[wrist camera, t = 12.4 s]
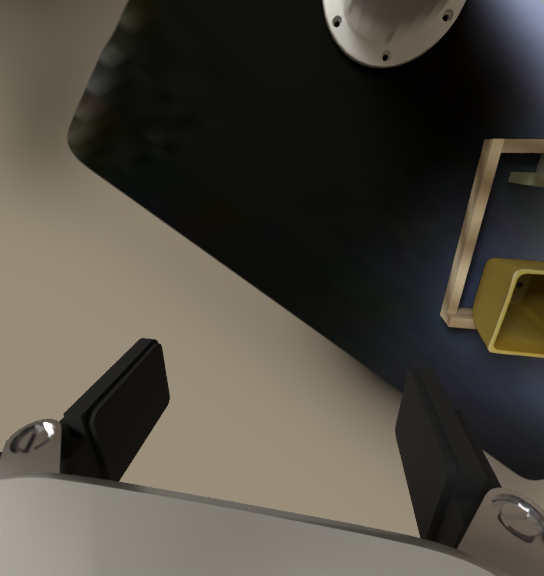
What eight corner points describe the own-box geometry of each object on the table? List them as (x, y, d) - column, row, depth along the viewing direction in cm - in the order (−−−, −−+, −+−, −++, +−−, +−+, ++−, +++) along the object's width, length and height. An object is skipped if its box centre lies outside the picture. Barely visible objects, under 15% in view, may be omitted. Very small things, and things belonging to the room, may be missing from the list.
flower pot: (473, 242, 35) (517, 269, 27) (558, 247, 34) (632, 276, 26) (453, 311, 39) (487, 352, 30) (530, 317, 37) (587, 363, 29)
